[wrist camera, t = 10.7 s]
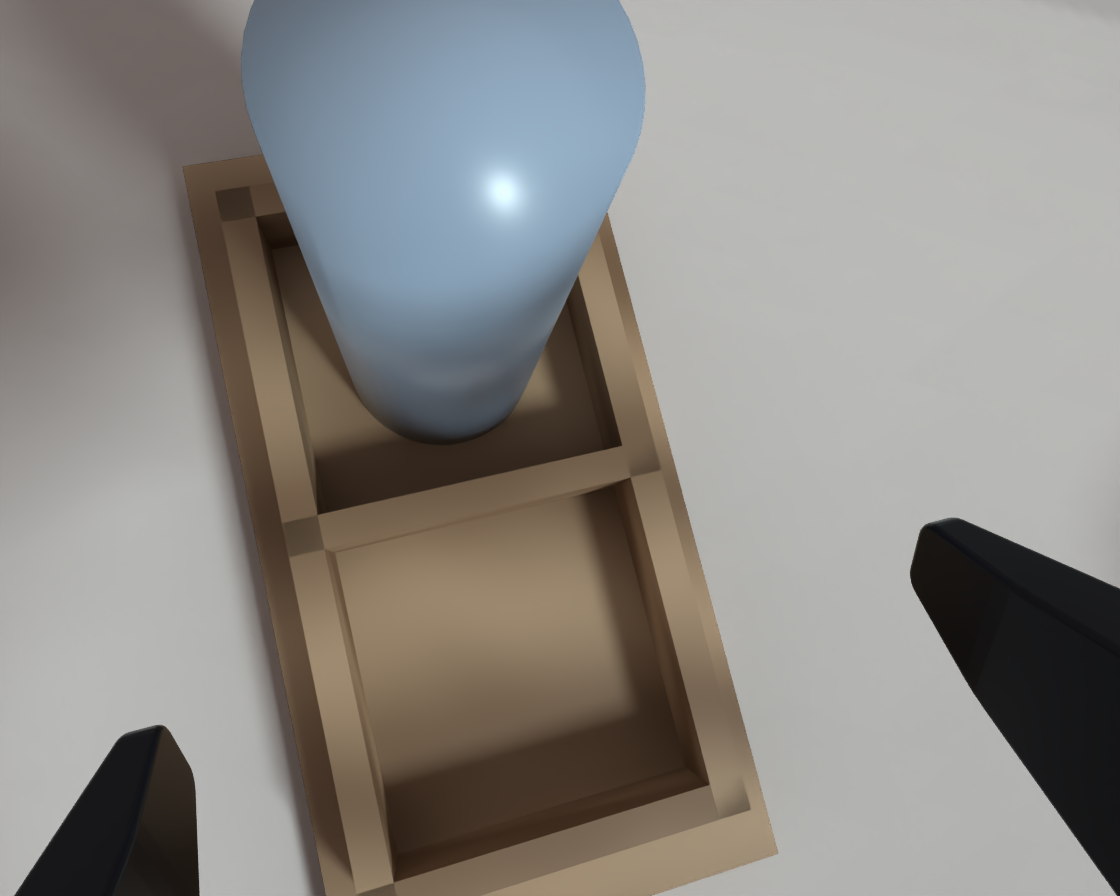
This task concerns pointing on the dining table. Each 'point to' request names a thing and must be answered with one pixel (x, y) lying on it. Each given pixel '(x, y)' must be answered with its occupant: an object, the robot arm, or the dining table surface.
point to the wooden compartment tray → (479, 600)
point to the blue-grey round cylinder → (443, 182)
